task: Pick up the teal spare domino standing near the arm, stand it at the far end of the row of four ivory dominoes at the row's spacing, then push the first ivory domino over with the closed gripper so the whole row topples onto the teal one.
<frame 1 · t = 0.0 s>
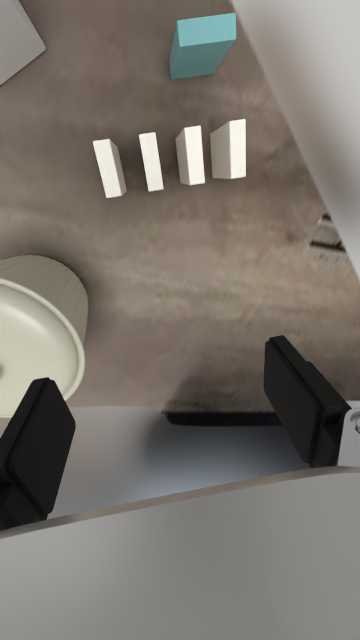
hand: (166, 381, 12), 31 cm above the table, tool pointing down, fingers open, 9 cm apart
domino 2: (150, 165, 34), on the table
domino 1: (116, 171, 34), on the table
spare domino: (191, 67, 30), on the table
canister: (46, 293, 41), on the table
domino 3: (183, 160, 34), on the table
domino 4: (217, 155, 35), on the table
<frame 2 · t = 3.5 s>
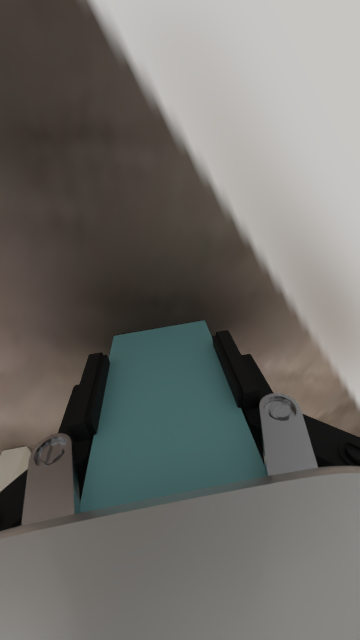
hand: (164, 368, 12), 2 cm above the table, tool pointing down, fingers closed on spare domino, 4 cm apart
domino 1: (30, 469, 19), on the table
spare domino: (161, 340, 14), on the table, touching gripper
when the fingers open (3 cm above the table, at t = 9.3 s): spare domino stays where it is, on the table.
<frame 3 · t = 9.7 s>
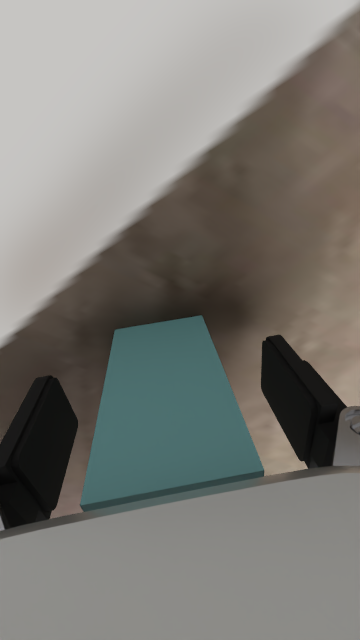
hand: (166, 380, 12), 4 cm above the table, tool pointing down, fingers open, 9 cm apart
spare domino: (160, 334, 15), on the table
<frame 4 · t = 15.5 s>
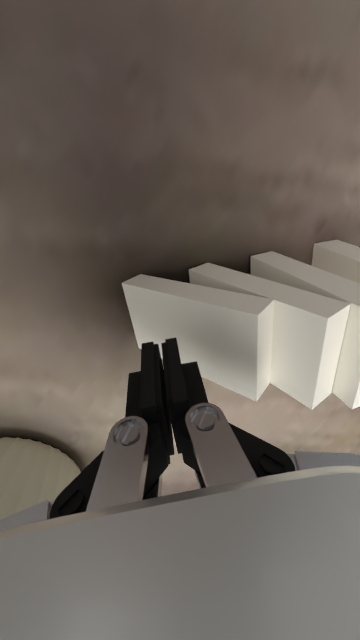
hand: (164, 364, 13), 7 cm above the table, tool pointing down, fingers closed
domino 2: (201, 300, 18), on the table, tilted 28°
domino 1: (139, 312, 18), point 1 cm above the table, tilted 43°
canister: (18, 469, 25), on the table
domino 3: (260, 288, 18), on the table, tilted 10°
domino 4: (320, 276, 19), on the table
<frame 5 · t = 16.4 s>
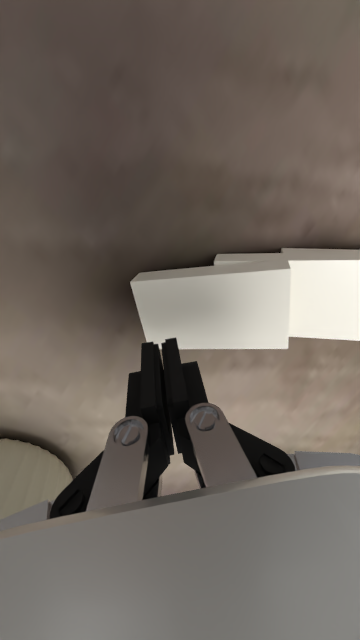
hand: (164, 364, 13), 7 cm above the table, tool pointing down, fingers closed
domino 2: (215, 294, 17), point 1 cm above the table, tilted 70°, touching domino 1, domino 3
domino 1: (144, 312, 17), point 1 cm above the table, tilted 70°, touching domino 2
canister: (7, 470, 25), on the table
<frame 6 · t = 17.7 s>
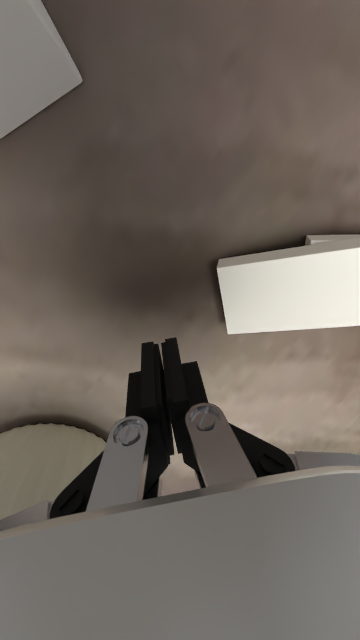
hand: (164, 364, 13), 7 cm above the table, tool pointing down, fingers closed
domino 2: (302, 275, 18), point 1 cm above the table, tilted 70°, touching domino 3
domino 1: (223, 297, 18), point 1 cm above the table, tilted 71°
canister: (56, 457, 25), on the table
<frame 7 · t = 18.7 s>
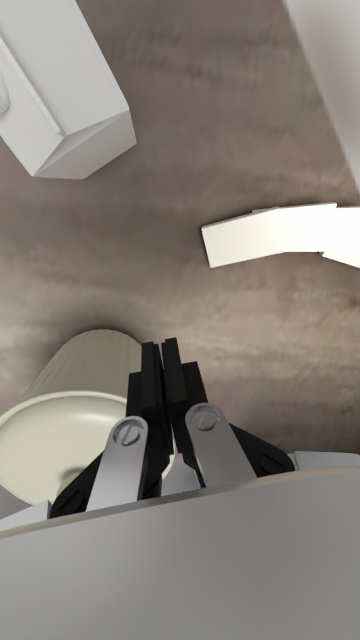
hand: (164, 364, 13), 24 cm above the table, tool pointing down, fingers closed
domino 2: (252, 231, 33), point 1 cm above the table, tilted 70°, touching domino 1, domino 3
domino 1: (206, 247, 33), point 1 cm above the table, tilted 73°, touching domino 2
canister: (106, 360, 40), on the table
domino 3: (287, 230, 33), point 1 cm above the table, tilted 69°, touching domino 2, domino 4
milk carton: (89, 127, 27), on the table
domino 4: (330, 236, 34), point 1 cm above the table, tilted 75°, touching domino 3, spare domino
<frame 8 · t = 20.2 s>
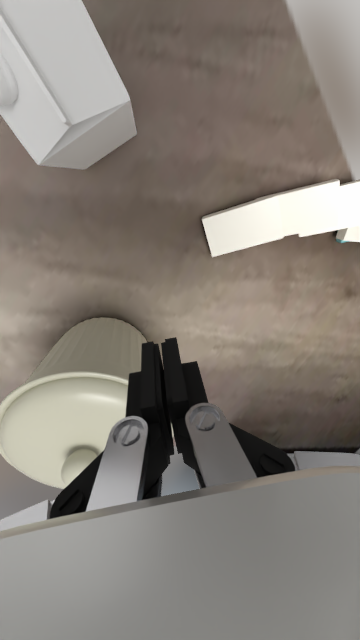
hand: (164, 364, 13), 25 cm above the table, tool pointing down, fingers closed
domino 2: (258, 219, 34), point 1 cm above the table, tilted 68°, touching domino 1
domino 1: (207, 237, 34), point 1 cm above the table, tilted 75°, touching domino 2
canister: (108, 347, 42), on the table
domino 3: (297, 216, 34), point 1 cm above the table, tilted 68°, touching domino 4
milk carton: (90, 117, 27), on the table
domino 4: (346, 219, 34), point 2 cm above the table, tilted 90°, touching domino 3, spare domino
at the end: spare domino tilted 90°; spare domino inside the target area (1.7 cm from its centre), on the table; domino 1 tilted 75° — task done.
